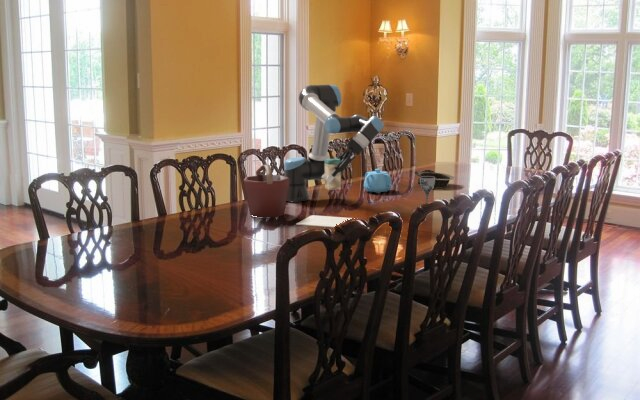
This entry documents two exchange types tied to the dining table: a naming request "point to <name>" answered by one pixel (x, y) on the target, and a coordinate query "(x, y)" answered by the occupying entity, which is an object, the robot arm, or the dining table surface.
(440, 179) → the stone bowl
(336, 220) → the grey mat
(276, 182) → the bucket
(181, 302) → the dining table surface
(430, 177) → the wine glass
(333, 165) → the teal and beige block
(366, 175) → the decorative pot
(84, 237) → the dining table surface
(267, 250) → the dining table surface
